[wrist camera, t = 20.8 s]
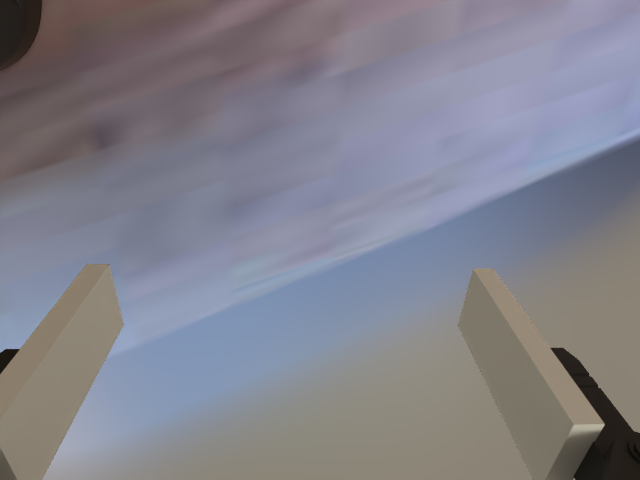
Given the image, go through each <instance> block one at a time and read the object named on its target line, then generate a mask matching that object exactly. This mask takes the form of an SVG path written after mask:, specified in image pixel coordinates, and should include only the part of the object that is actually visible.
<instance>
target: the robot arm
mask: <svg viewBox="0 0 640 480" xmlns="http://www.w3.org/2000/svg"><path fill="white" fill-rule="evenodd" d="M40 14H41V0H0V70H2V69H4V68H7V67H9V66H10V65H12V64H14V63H15V62H16V61H18V60H19V59H20V58H21V57H22V56H23V55H24V54H25V53H26V52H27V50H28V49H29V47H30V46H31V44H32V42H33V40H34V38H35V36H36V33H37V30H38V26H39V21H40ZM123 325H124V324H123V319H122V315H121V311H120V307H119V303H118V299H117V294H116V290H115V286H114V282H113V278H112V273H111V269H110V265H109V264H87V265H86V266H85V267H84V268H83V270H82V271H81V272H80V274H79V275H78V276H77V277H76V279H75V280H74V281H73V282H72V284H71V285H70V286H69V288H68V289H67V290H66V291H65V293H64V294H63V295H62V296H61V298H60V299H59V300H58V302H57V303H56V304H55V305H54V307H53V308H52V309H51V310H50V312H49V313H48V314H47V316H46V317H45V318H44V319H43V321H42V322H41V323H40V325H39V326H38V327H37V328H36V330H35V331H34V332H33V333H32V335H31V336H30V337H29V339H28V340H27V341H26V342H25V344H24V345H23V346H22V347H21V349H5V350H4V351H3V352H1V353H0V480H42V478H43V476H44V475H45V473H46V471H47V469H48V467H49V465H50V463H51V461H52V460H53V458H54V456H55V454H56V452H57V450H58V448H59V446H60V444H61V443H62V441H63V439H64V437H65V435H66V433H67V431H68V429H69V427H70V426H71V424H72V422H73V420H74V418H75V416H76V414H77V412H78V410H79V408H80V407H81V405H82V403H83V401H84V399H85V397H86V395H87V393H88V391H89V389H90V388H91V385H92V384H93V382H94V380H95V378H96V376H97V374H98V372H99V370H100V368H101V367H102V365H103V363H104V361H105V359H106V357H107V355H108V354H109V352H110V350H111V348H112V346H113V344H114V342H115V340H116V338H117V336H118V335H119V333H120V331H121V329H122V327H123ZM458 327H459V329H460V331H461V333H462V335H463V337H464V339H465V341H466V343H467V345H468V347H469V349H470V352H471V354H472V356H473V358H474V360H475V362H476V364H477V366H478V368H479V370H480V372H481V374H482V376H483V378H484V380H485V382H486V384H487V386H488V388H489V390H490V393H491V394H492V397H493V399H494V401H495V403H496V405H497V407H498V409H499V411H500V413H501V415H502V417H503V419H504V421H505V423H506V425H507V427H508V429H509V431H510V433H511V435H512V437H513V440H514V442H515V444H516V445H517V448H518V450H519V452H520V454H521V456H522V458H523V460H524V462H525V464H526V466H527V468H528V470H529V472H530V474H531V477H532V478H533V480H573V479H574V478H575V480H640V433H638V432H634V431H633V430H632V429H631V427H630V426H629V425H628V423H627V422H626V421H625V420H624V418H623V417H622V416H621V414H620V413H619V412H618V410H617V409H616V408H615V407H614V405H613V404H612V403H611V401H610V400H609V399H608V398H607V396H606V395H605V394H604V392H603V391H602V390H601V388H598V385H597V383H596V382H595V381H594V380H593V378H592V377H590V376H589V373H588V372H587V370H586V369H585V368H584V366H583V365H582V364H581V363H580V361H579V360H577V358H575V357H574V356H573V355H571V354H570V353H569V352H567V351H566V350H565V349H563V348H550V347H549V346H548V344H547V343H546V342H545V340H544V339H543V338H542V336H541V335H540V334H539V332H538V331H537V329H536V328H535V326H534V325H533V324H532V322H531V321H530V319H529V318H528V317H527V315H526V314H525V312H524V311H523V310H522V308H521V307H520V305H519V304H518V303H517V301H516V300H515V299H514V297H513V296H512V294H511V293H510V292H509V290H508V289H507V287H506V286H505V285H504V283H503V282H502V280H501V279H500V278H499V276H498V275H497V273H496V272H495V271H494V269H473V271H472V274H471V279H470V282H469V286H468V290H467V293H466V297H465V301H464V305H463V308H462V312H461V316H460V320H459V323H458Z"/></svg>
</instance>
